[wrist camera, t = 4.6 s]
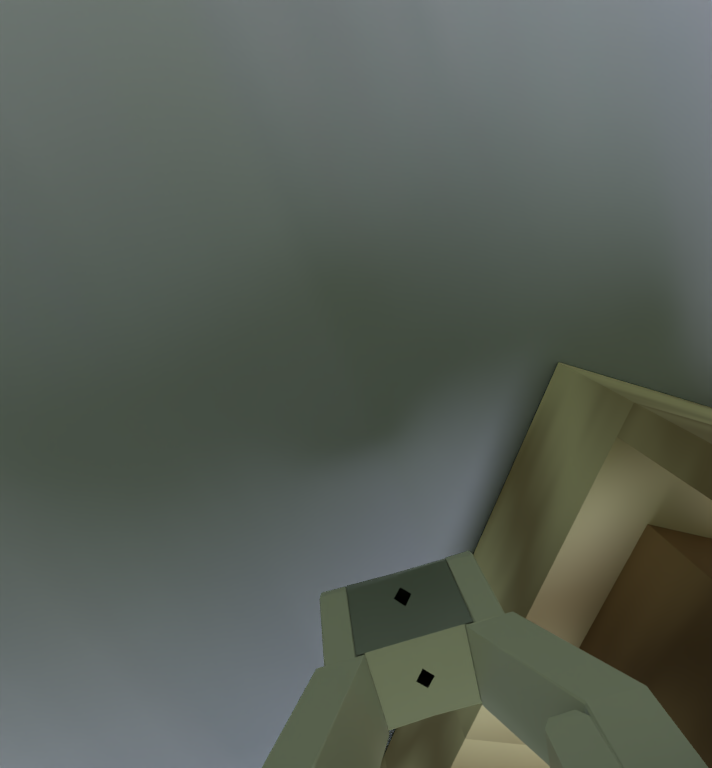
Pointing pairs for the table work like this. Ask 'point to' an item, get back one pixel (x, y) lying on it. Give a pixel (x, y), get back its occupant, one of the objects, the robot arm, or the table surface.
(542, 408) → the trap track
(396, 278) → the table surface
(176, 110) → the table surface
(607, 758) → the robot arm
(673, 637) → the walnut block
